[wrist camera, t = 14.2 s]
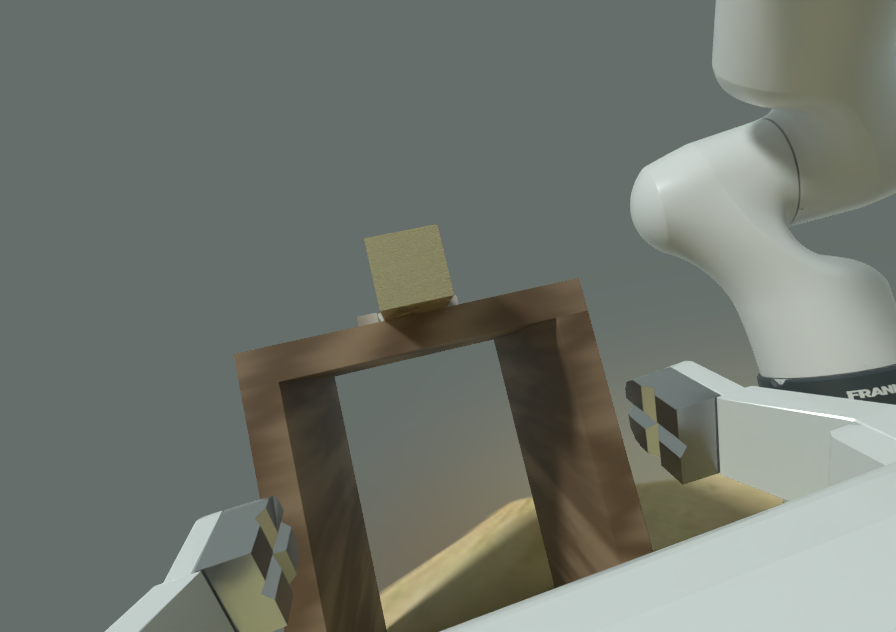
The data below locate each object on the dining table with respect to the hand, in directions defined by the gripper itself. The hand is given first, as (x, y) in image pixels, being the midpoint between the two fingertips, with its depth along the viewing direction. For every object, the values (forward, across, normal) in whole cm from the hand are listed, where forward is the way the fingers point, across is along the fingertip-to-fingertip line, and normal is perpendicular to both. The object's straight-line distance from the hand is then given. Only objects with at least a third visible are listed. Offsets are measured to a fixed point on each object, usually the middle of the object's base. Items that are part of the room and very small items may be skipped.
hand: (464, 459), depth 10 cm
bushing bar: (+22, 0, +4) cm, 22 cm away
